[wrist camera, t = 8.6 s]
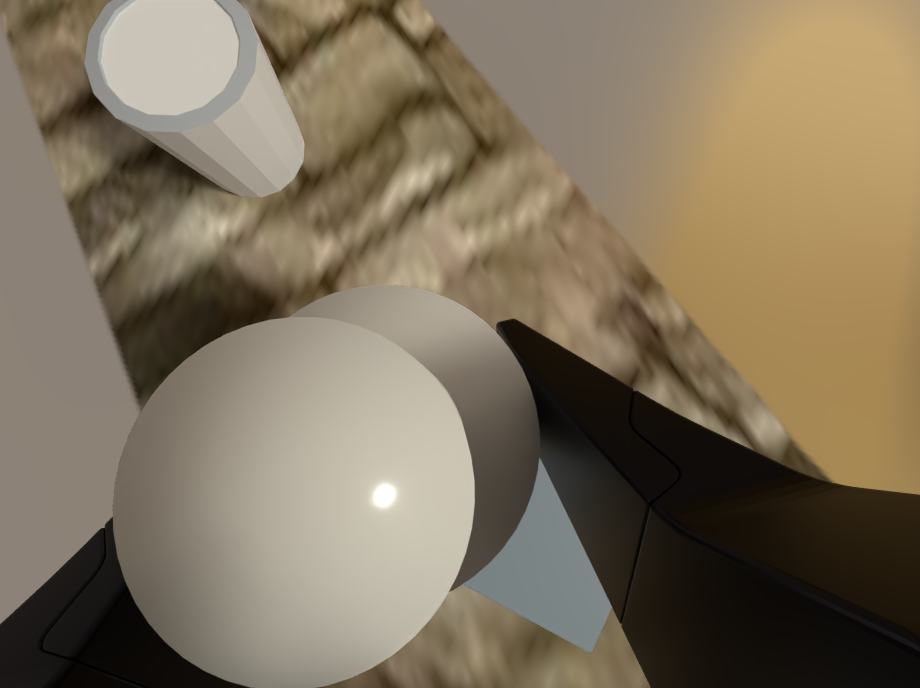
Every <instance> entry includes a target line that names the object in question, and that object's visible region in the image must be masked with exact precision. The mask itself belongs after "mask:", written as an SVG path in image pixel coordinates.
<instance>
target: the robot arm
mask: <svg viewBox="0 0 920 688" xmlns="http://www.w3.org/2000/svg"><path fill="white" fill-rule="evenodd" d="M496 330H497V334H498V335H499V336H500V337H501V338H502V340H503V341H504V342H505V343H506V345H507V346H508V347H509V348H510V350H511V351H512V353H513V354H514V356H515V357H516V359H517V361H518V362H519V364H520V366H521V367H522V369H523V372H524V374H525V376H526V378H527V381H528V383H529V385H530V388H531V391H532V395H533V398H534V401H535V405H536V409H537V415H538V422H539V430H540V455H539V457H540V459H541V461H542V463H543V465H544V467H545V469H546V471H547V474H548V476H549V478H550V480H551V482H552V484H553V486H554V488H555V490H556V492H557V494H558V496H559V498H560V500H561V502H562V505H563V507H564V509H565V511H566V513H567V515H568V517H569V519H570V521H571V523H572V525H573V527H574V529H575V531H576V534H577V536H578V538H579V540H580V542H581V544H582V546H583V548H584V550H585V552H586V554H587V556H588V558H589V560H590V562H591V565H592V567H593V569H594V571H595V573H596V575H597V577H598V579H599V581H600V583H601V585H602V587H603V589H604V591H605V594H606V596H607V598H608V600H609V602H610V604H611V606H612V608H613V610H614V612H615V614H616V616H617V618H618V620H619V622H620V623H621V624H622V625H621V627H622V629H623V631H624V633H625V635H626V637H627V639H628V641H629V643H630V646H631V648H632V650H633V652H634V654H635V656H636V658H637V660H638V662H639V664H640V666H641V668H642V670H643V672H644V674H645V677H646V679H647V681H648V683H649V685H650V687H651V688H920V495H917V494H909V493H899V492H891V491H883V490H874V489H866V488H858V487H851V486H845V485H840V484H836V483H831V482H828V481H825V480H821V479H818V478H815V477H812V476H809V475H806V474H804V473H801V472H799V471H796V470H794V469H792V468H789V467H787V466H785V465H783V464H781V463H779V462H777V461H774V460H772V459H770V458H768V457H766V456H764V455H762V454H760V453H758V452H755V451H753V450H751V449H749V448H747V447H745V446H743V445H741V444H739V443H737V442H734V441H732V440H730V439H728V438H726V437H724V436H722V435H720V434H718V433H715V432H713V431H711V430H709V429H707V428H705V427H703V426H701V425H699V424H697V423H695V422H693V421H691V420H689V419H687V418H685V417H683V416H681V415H679V414H677V413H675V412H674V411H672V410H670V409H668V408H667V407H665V406H663V405H661V404H659V403H658V402H656V401H654V400H652V399H650V398H649V397H647V396H645V395H644V394H642V393H640V392H639V391H634V389H633V388H632V387H630V386H628V385H626V384H625V383H623V382H621V381H620V380H618V379H616V378H615V377H613V376H611V375H609V374H608V373H606V372H604V371H603V370H601V369H599V368H598V367H596V366H594V365H593V364H591V363H589V362H587V361H586V360H584V359H582V358H581V357H579V356H577V355H576V354H574V353H572V352H570V351H569V350H567V349H565V348H564V347H562V346H560V345H559V344H557V343H555V342H554V341H552V340H550V339H548V338H547V337H545V336H543V335H542V334H540V333H538V332H537V331H535V330H533V329H531V328H530V327H528V326H526V325H525V324H523V323H521V322H520V321H518V320H516V319H509V320H505V321H501V322H498V323H497V325H496ZM633 392H634V393H633ZM0 688H251V687H247V686H243V685H240V684H236V683H233V682H229V681H226V680H224V679H221V678H219V677H217V676H215V675H212V674H210V673H208V672H206V671H204V670H202V669H200V668H199V667H197V666H196V665H194V664H193V663H191V662H189V661H188V660H186V659H185V658H183V657H182V656H181V655H180V654H178V653H177V652H176V651H175V650H174V649H173V648H171V647H170V646H169V645H168V644H167V643H166V642H165V641H164V640H163V639H162V638H161V637H160V636H159V635H158V633H157V632H156V631H155V630H154V629H153V628H152V627H151V625H150V624H149V623H148V622H147V620H146V618H145V617H144V615H143V614H142V612H141V611H140V609H139V608H138V606H137V605H136V603H135V601H134V599H133V597H132V595H131V592H130V590H129V588H128V586H127V584H126V582H125V579H124V576H123V573H122V569H121V566H120V563H119V560H118V556H117V550H116V544H115V538H114V532H113V517H112V518H111V519H110V520H109V521H108V522H107V523H106V524H105V528H101V529H100V530H99V531H98V532H97V533H96V534H95V535H94V536H93V537H92V538H91V539H90V540H89V541H88V542H87V543H86V544H85V545H84V546H83V547H82V548H81V549H80V550H79V551H78V552H77V553H76V554H75V555H74V556H73V557H72V558H71V559H70V560H69V561H67V562H66V563H65V564H64V565H63V566H62V567H61V568H60V569H59V570H58V571H57V572H56V573H55V574H54V575H53V576H52V577H51V578H50V579H49V580H48V581H47V582H46V583H45V584H44V585H42V586H41V587H40V588H39V589H38V590H37V591H36V592H35V593H34V594H33V595H32V596H30V597H29V599H27V600H26V601H25V602H24V603H23V604H22V605H21V606H20V607H19V608H18V609H16V610H15V611H14V612H13V613H12V614H11V615H10V616H9V617H8V618H7V619H5V620H4V621H3V622H2V623H1V624H0Z"/></svg>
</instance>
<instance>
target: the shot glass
mask: <svg viewBox="0 0 920 688" xmlns="http://www.w3.org/2000/svg"><path fill="white" fill-rule="evenodd" d="M85 67H86V71H87V74H88V77H89V80H90V84H91V87H92V90H93V93H94V95H95V96H96V97H97V98H98V99H99V100H100V101H101V102H102V104H103V105H104V106H105V107H106V108H107V109H108V110H109V111H110V112H111V113H112V115H113V116H114V117H115V118H117V119H118V120H120V121H121V122H123V123H124V124H126V125H127V126H129V127H130V128H132V129H133V130H135V131H136V132H138V133H139V134H141V135H143V136H144V137H146V138H147V139H149V140H150V141H152V142H153V143H155V144H156V145H158V146H159V147H161V148H162V149H164V150H165V151H167V152H168V153H170V154H171V155H173V156H174V157H176V158H177V159H179V160H180V161H182V162H183V163H185V164H186V165H188V166H189V167H191V168H192V169H194V170H196V171H197V172H199V173H200V174H202V175H203V176H205V177H206V178H208V179H209V180H211V181H212V182H214V183H215V184H217V185H218V186H220V187H221V188H223V189H225V190H227V191H229V192H231V193H234V194H236V195H238V196H240V197H259V198H261V197H264V196H267V195H270V194H273V193H275V192H278V191H280V190H281V189H283V188H284V187H285V186H286V185H287V184H288V183H290V182H291V181H292V180H293V179H294V178H295V176H296V174H297V172H298V171H299V169H300V167H301V165H302V163H303V157H304V144H305V143H304V140H303V138H302V135H301V132H300V129H299V127H298V124H297V122H296V120H295V117H294V115H293V113H292V111H291V108H290V106H289V104H288V102H287V99H286V97H285V95H284V93H283V90H282V88H281V86H280V84H279V81H278V79H277V77H276V75H275V72H274V70H273V68H272V66H271V63H270V61H269V59H268V57H267V54H266V52H265V50H264V48H263V45H262V43H261V41H260V39H259V36H258V34H257V32H256V30H255V27H254V25H253V23H252V21H251V18H250V16H249V14H248V12H247V11H246V10H245V9H244V8H243V7H242V6H241V5H240V3H239V2H238V1H237V0H112V1H111V2H109V3H108V4H107V5H106V6H105V7H104V9H103V10H102V12H101V14H100V15H99V17H98V19H97V20H96V22H95V24H94V25H93V27H92V29H91V30H90V32H89V35H88V42H87V49H86V57H85Z"/></svg>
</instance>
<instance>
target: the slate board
mask: <svg viewBox="0 0 920 688" xmlns="http://www.w3.org/2000/svg"><path fill="white" fill-rule="evenodd" d="M463 585H465V586H467V587H469V588H470V589H472V590H474V591H476V592H478V593H480V594H482V595H483V596H485V597H487V598H489V599H491V600H493V601H495V602H497V603H498V604H500V605H502V606H504V607H506V608H508V609H510V610H511V611H513V612H515V613H517V614H519V615H521V616H523V617H524V618H526V619H528V620H530V621H532V622H534V623H536V624H537V625H539V626H541V627H543V628H545V629H547V630H549V631H551V632H552V633H554V634H556V635H558V636H560V637H562V638H564V639H565V640H567V641H569V642H571V643H573V644H575V645H577V646H578V647H580V648H582V649H584V650H586V651H588V652H590V653H592V651H593V648H594V646H595V644H596V642H597V640H598V637H599V635H600V633H601V631H602V628H603V626H604V624H605V622H606V619H607V617H608V615H609V613H610V611H611V608H612V606H611V604H610V602H609V600H608V598H607V596H606V594H605V591H604V589H603V587H602V585H601V583H600V581H599V579H598V577H597V575H596V573H595V571H594V569H593V567H592V565H591V562H590V560H589V558H588V556H587V554H586V552H585V550H584V548H583V546H582V544H581V542H580V540H579V538H578V536H577V534H576V531H575V529H574V527H573V525H572V523H571V521H570V519H569V517H568V515H567V513H566V511H565V509H564V507H563V505H562V502H561V500H560V498H559V496H558V494H557V492H556V490H555V488H554V486H553V484H552V482H551V480H550V478H549V476H548V474H547V471H546V469H545V467H544V465H543V463H542V461H541V459H540V457H539V465H538V472H537V476H536V481H535V485H534V489H533V493H532V495H531V498H530V501H529V503H528V506H527V509H526V511H525V513H524V515H523V517H522V519H521V521H520V523H519V525H518V527H517V529H516V531H515V532H514V533H513V535H512V536H511V538H510V539H509V540H508V542H507V543H506V545H505V546H504V548H503V549H502V550H501V551H500V552H499V553H498V554H497V555H496V556H495V558H494V559H493V560H492V561H491V562H490V563H489V564H488V565H487V566H486V567H484V568H483V569H482V570H481V571H480V572H478V573H477V574H476V575H475V576H474V577H472V578H471V579H470V580H468V581H467V582H465V583H463Z"/></svg>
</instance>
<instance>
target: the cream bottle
mask: <svg viewBox="0 0 920 688" xmlns="http://www.w3.org/2000/svg"><path fill="white" fill-rule="evenodd" d="M539 455H540V430H539V422H538V415H537V409H536V405H535V401H534V398H533V395H532V391H531V388H530V385H529V383H528V381H527V378H526V376H525V374H524V372H523V369H522V367H521V366H520V364H519V362H518V361H517V359H516V357H515V356H514V354H513V353H512V351H511V350H510V348H509V347H508V346H507V345H506V343H505V342H504V341H503V340H502V338H501V337H500V336H499V335H498V334H497V333H496V332H495V331H494V330H493V329H492V328H491V327H490V326H489V325H488V324H487V323H486V322H485V321H484V320H482V319H481V318H480V317H478V316H477V315H476V314H474V313H473V312H472V311H470V310H469V309H467V308H465V307H464V306H462V305H460V304H458V303H456V302H455V301H453V300H451V299H448V298H446V297H443V296H441V295H438V294H436V293H433V292H430V291H426V290H422V289H418V288H414V287H407V286H399V285H370V286H363V287H355V288H351V289H347V290H343V291H339V292H336V293H333V294H330V295H328V296H325V297H323V298H321V299H318V300H316V301H314V302H312V303H310V304H309V305H307V306H305V307H303V308H301V309H300V310H298V311H297V312H295V313H294V314H292V315H291V316H290V317H288V318H281V319H273V320H267V321H263V322H259V323H256V324H252V325H248V326H245V327H243V328H240V329H238V330H235V331H233V332H230V333H228V334H225V335H223V336H222V337H220V338H218V339H216V340H214V341H212V342H211V343H209V344H207V345H205V346H204V347H202V348H201V349H200V350H198V351H197V352H195V353H194V354H193V355H191V356H190V357H189V358H187V359H186V360H185V361H184V362H182V363H181V364H180V365H179V366H178V367H177V368H176V369H175V370H174V371H173V372H172V373H171V374H170V375H168V377H167V378H166V379H165V380H164V381H163V382H162V384H161V385H160V386H159V387H158V388H157V390H156V391H155V392H154V393H153V394H152V396H151V397H150V399H149V400H148V402H147V403H146V405H145V406H144V408H143V409H142V411H141V412H140V414H139V416H138V418H137V420H136V422H135V424H134V426H133V428H132V430H131V432H130V434H129V436H128V439H127V442H126V444H125V447H124V450H123V453H122V456H121V458H120V463H119V467H118V472H117V476H116V481H115V488H114V499H113V532H114V538H115V544H116V550H117V556H118V560H119V563H120V566H121V569H122V573H123V576H124V579H125V582H126V584H127V586H128V588H129V590H130V592H131V595H132V597H133V599H134V601H135V603H136V605H137V606H138V608H139V609H140V611H141V612H142V614H143V615H144V617H145V618H146V620H147V622H148V623H149V624H150V625H151V627H152V628H153V629H154V630H155V631H156V632H157V633H158V635H159V636H160V637H161V638H162V639H163V640H164V641H165V642H166V643H167V644H168V645H169V646H170V647H171V648H173V649H174V650H175V651H176V652H177V653H178V654H180V655H181V656H182V657H183V658H185V659H186V660H188V661H189V662H191V663H193V664H194V665H196V666H197V667H199V668H200V669H202V670H204V671H206V672H208V673H210V674H212V675H215V676H217V677H219V678H221V679H224V680H226V681H229V682H233V683H236V684H240V685H243V686H247V687H251V688H316V687H323V686H327V685H330V684H333V683H337V682H340V681H343V680H347V679H349V678H352V677H354V676H356V675H358V674H360V673H362V672H365V671H367V670H369V669H371V668H373V667H374V666H376V665H378V664H379V663H381V662H382V661H384V660H385V659H387V658H389V657H390V656H392V655H393V654H395V653H396V652H397V651H398V650H399V649H401V648H402V647H403V646H404V645H405V644H407V643H408V642H409V641H410V640H411V639H412V638H414V636H415V635H416V634H417V633H418V632H419V631H420V630H421V629H422V628H423V627H424V626H425V625H426V623H427V622H428V621H429V620H430V619H431V618H432V616H433V615H434V613H435V612H436V611H437V609H438V608H439V606H440V605H441V604H442V602H443V601H444V599H445V598H446V596H447V594H448V592H450V591H452V590H454V589H455V588H457V587H459V586H460V585H462V584H463V583H465V582H467V581H468V580H470V579H471V578H472V577H474V576H475V575H476V574H477V573H478V572H480V571H481V570H482V569H483V568H484V567H486V566H487V565H488V564H489V563H490V562H491V561H492V560H493V559H494V558H495V556H496V555H497V554H498V553H499V552H500V551H501V550H502V549H503V548H504V546H505V545H506V543H507V542H508V540H509V539H510V538H511V536H512V535H513V533H514V532H515V531H516V529H517V527H518V525H519V523H520V521H521V519H522V517H523V515H524V513H525V511H526V509H527V506H528V503H529V501H530V498H531V495H532V493H533V489H534V485H535V481H536V476H537V472H538V465H539Z"/></svg>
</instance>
